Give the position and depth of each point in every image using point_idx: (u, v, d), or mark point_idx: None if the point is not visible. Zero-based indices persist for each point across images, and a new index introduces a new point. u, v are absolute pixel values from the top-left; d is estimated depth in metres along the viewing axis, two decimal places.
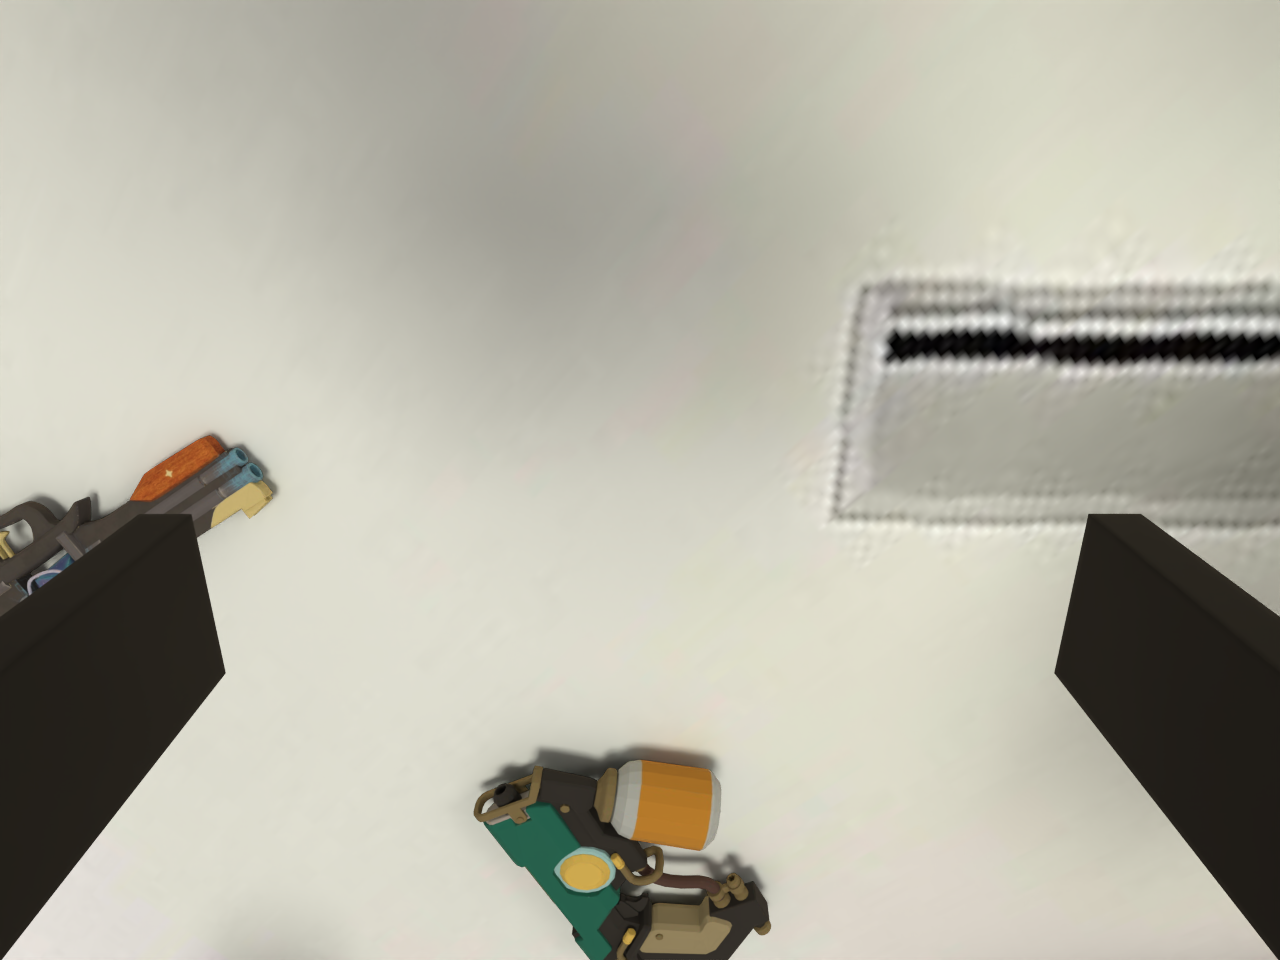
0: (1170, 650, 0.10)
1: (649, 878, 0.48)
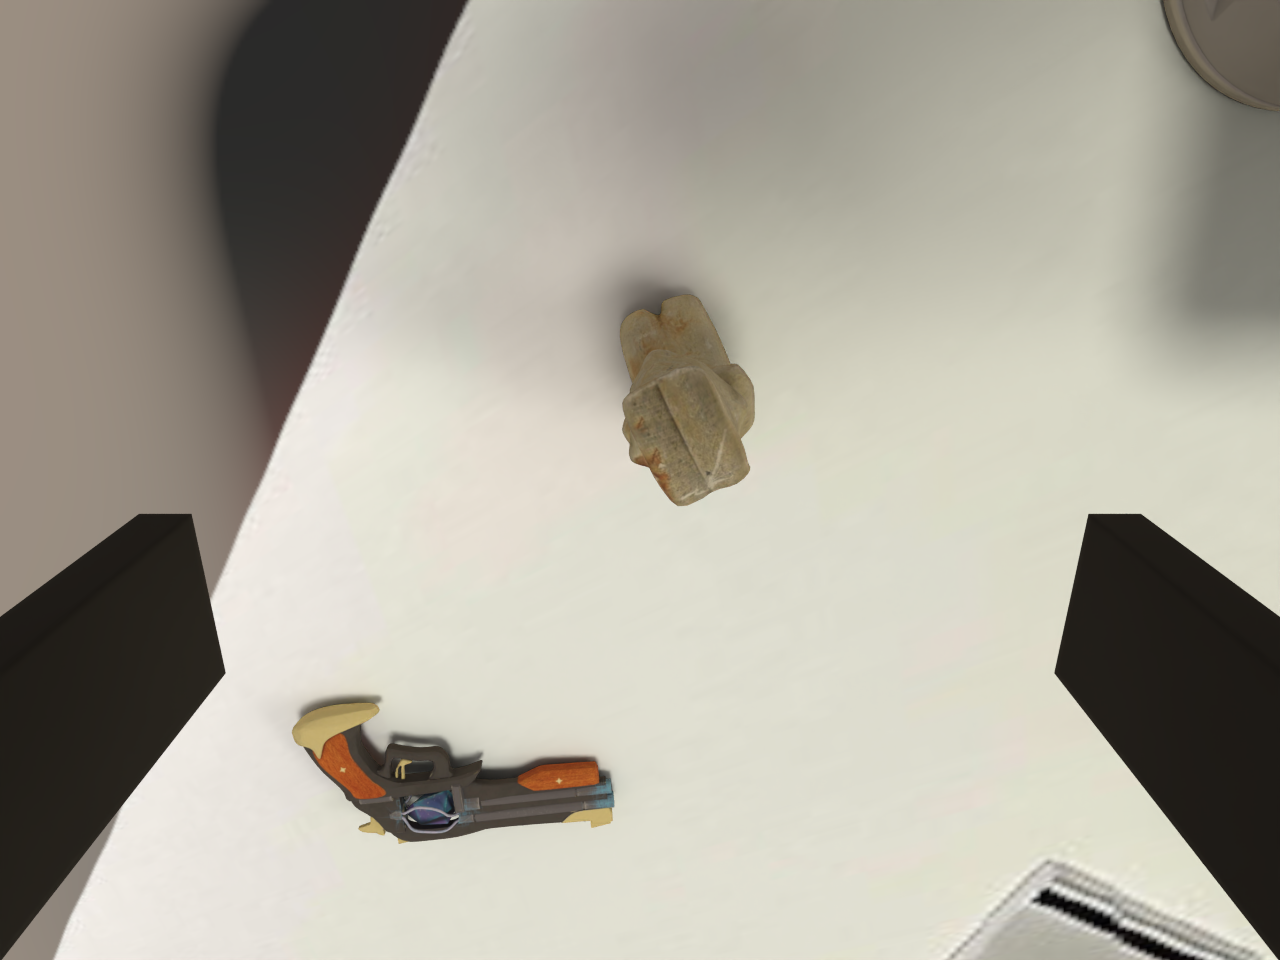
0: (1170, 650, 0.10)
1: None
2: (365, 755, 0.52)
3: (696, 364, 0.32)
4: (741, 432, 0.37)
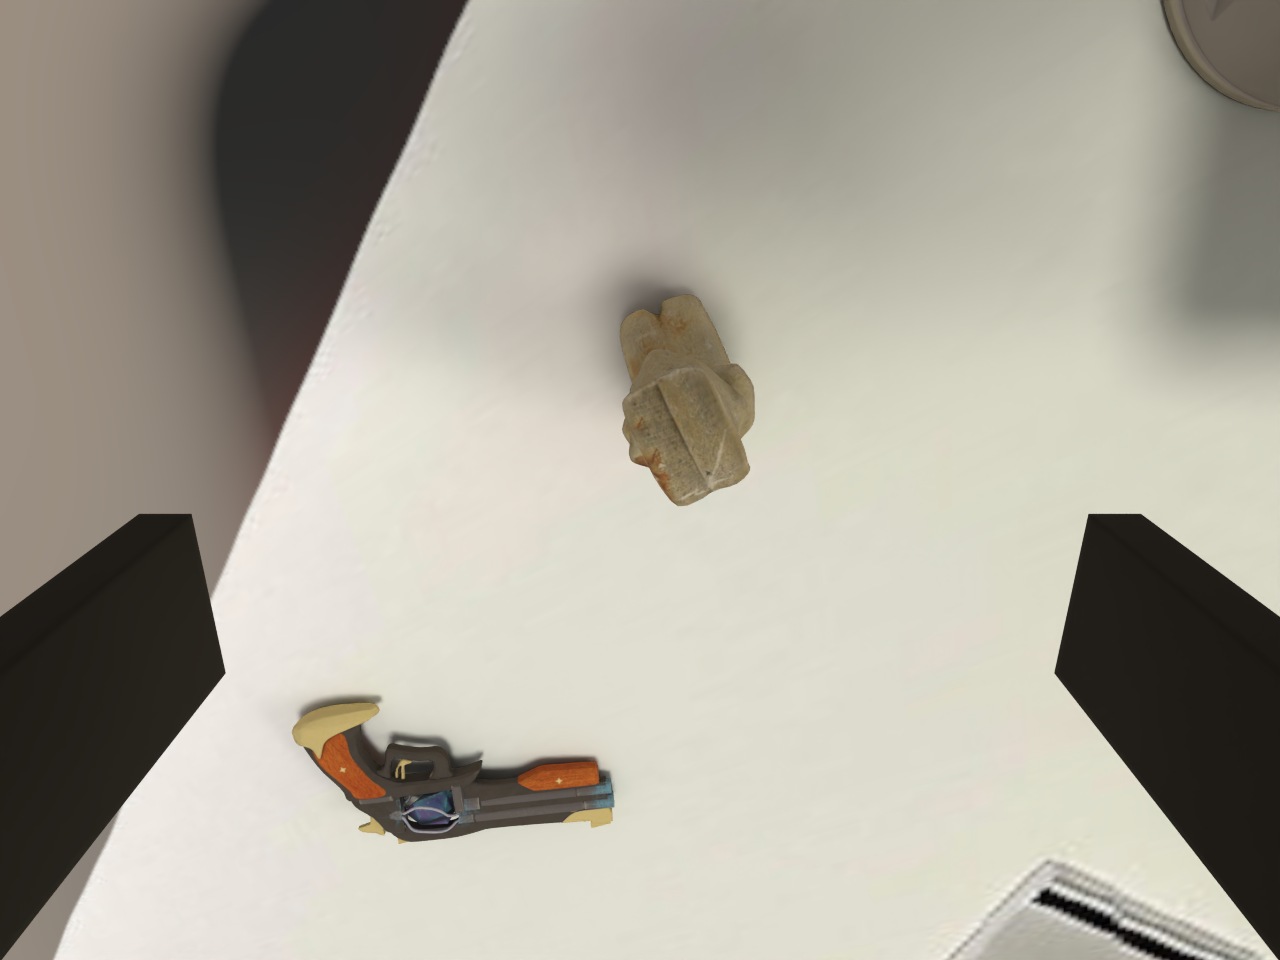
0: (1170, 650, 0.10)
1: None
2: (365, 755, 0.52)
3: (696, 364, 0.32)
4: (741, 432, 0.37)
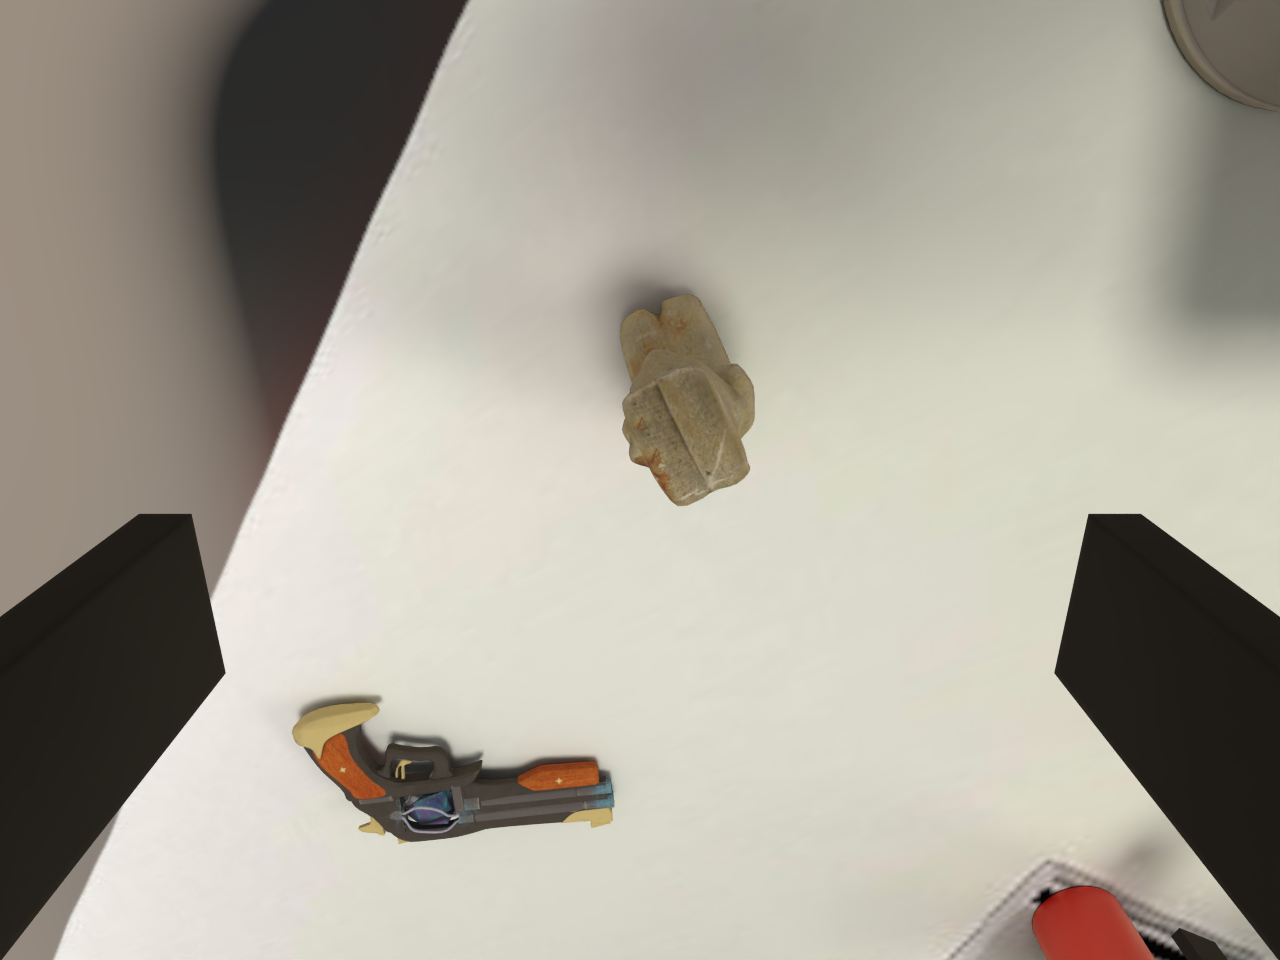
0: (1170, 650, 0.10)
1: None
2: (365, 755, 0.52)
3: (696, 364, 0.32)
4: (741, 432, 0.37)
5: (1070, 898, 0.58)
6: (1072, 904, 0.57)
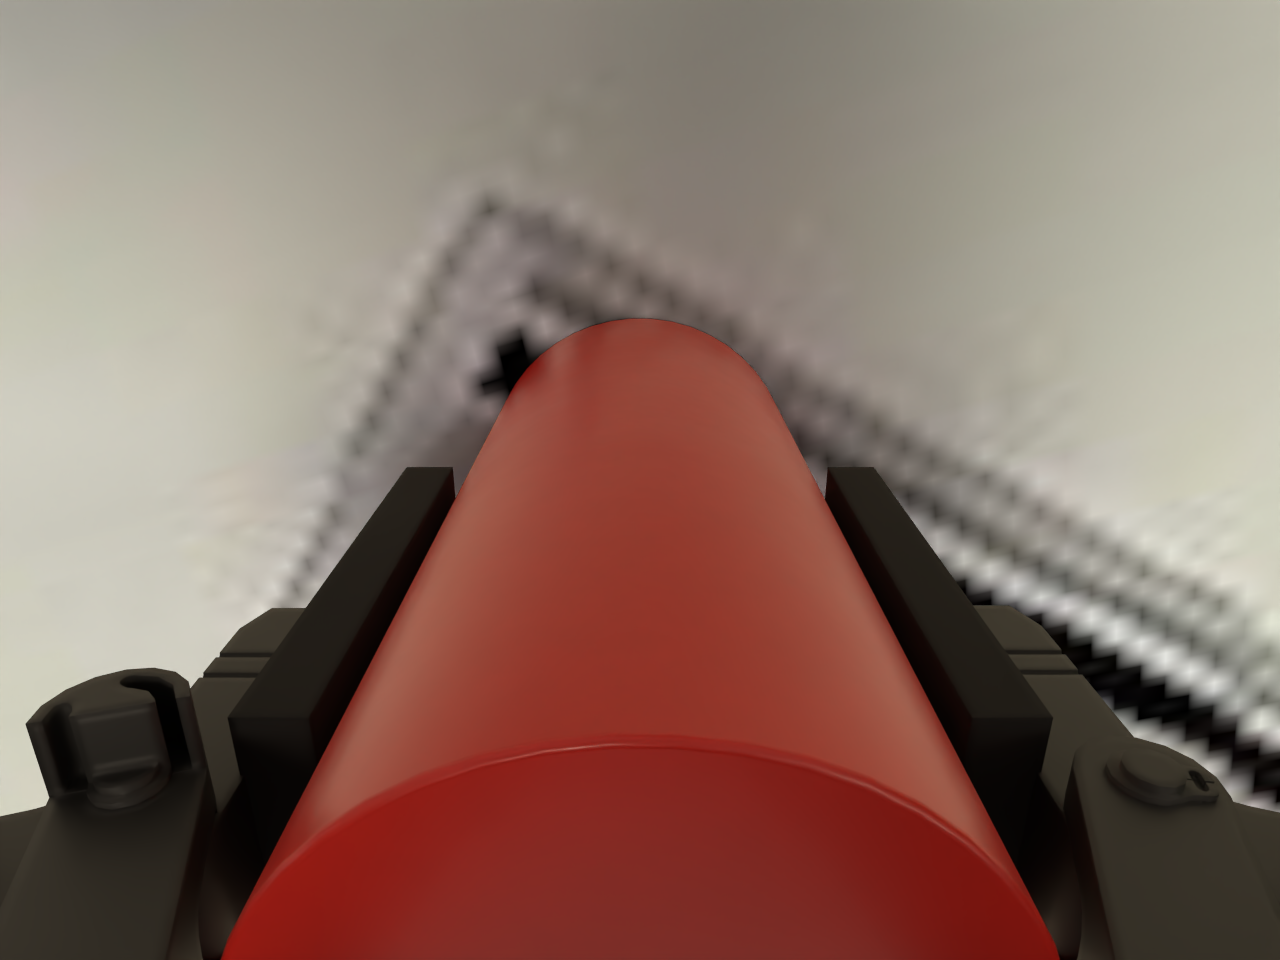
0: None
1: None
2: None
3: None
4: None
5: (572, 341, 0.16)
6: (566, 348, 0.16)
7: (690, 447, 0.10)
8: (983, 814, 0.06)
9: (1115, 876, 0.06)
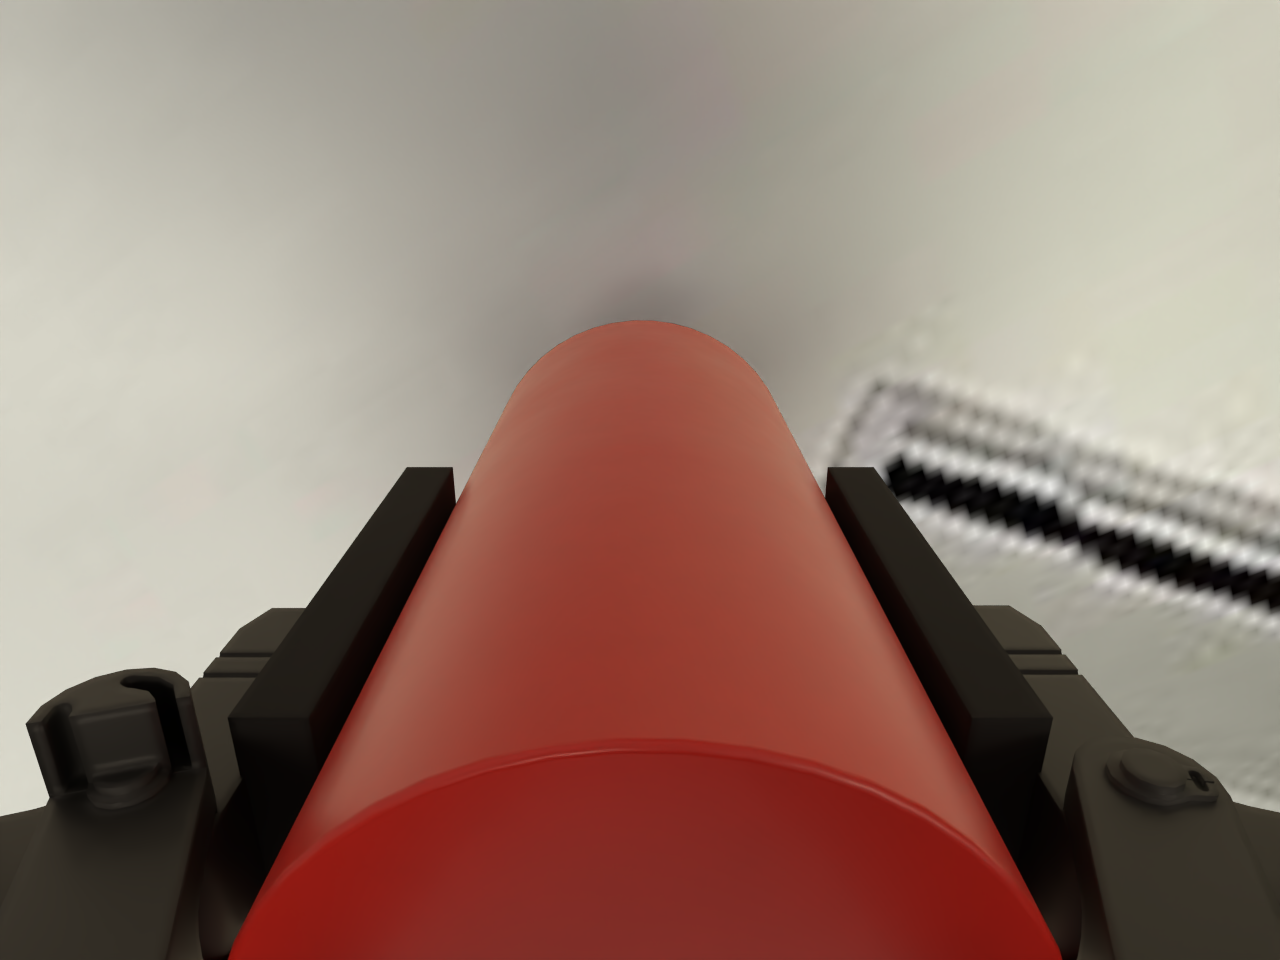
0: None
1: None
2: None
3: None
4: None
5: (573, 343, 0.16)
6: (568, 350, 0.16)
7: (694, 449, 0.10)
8: (987, 818, 0.06)
9: (1115, 877, 0.06)
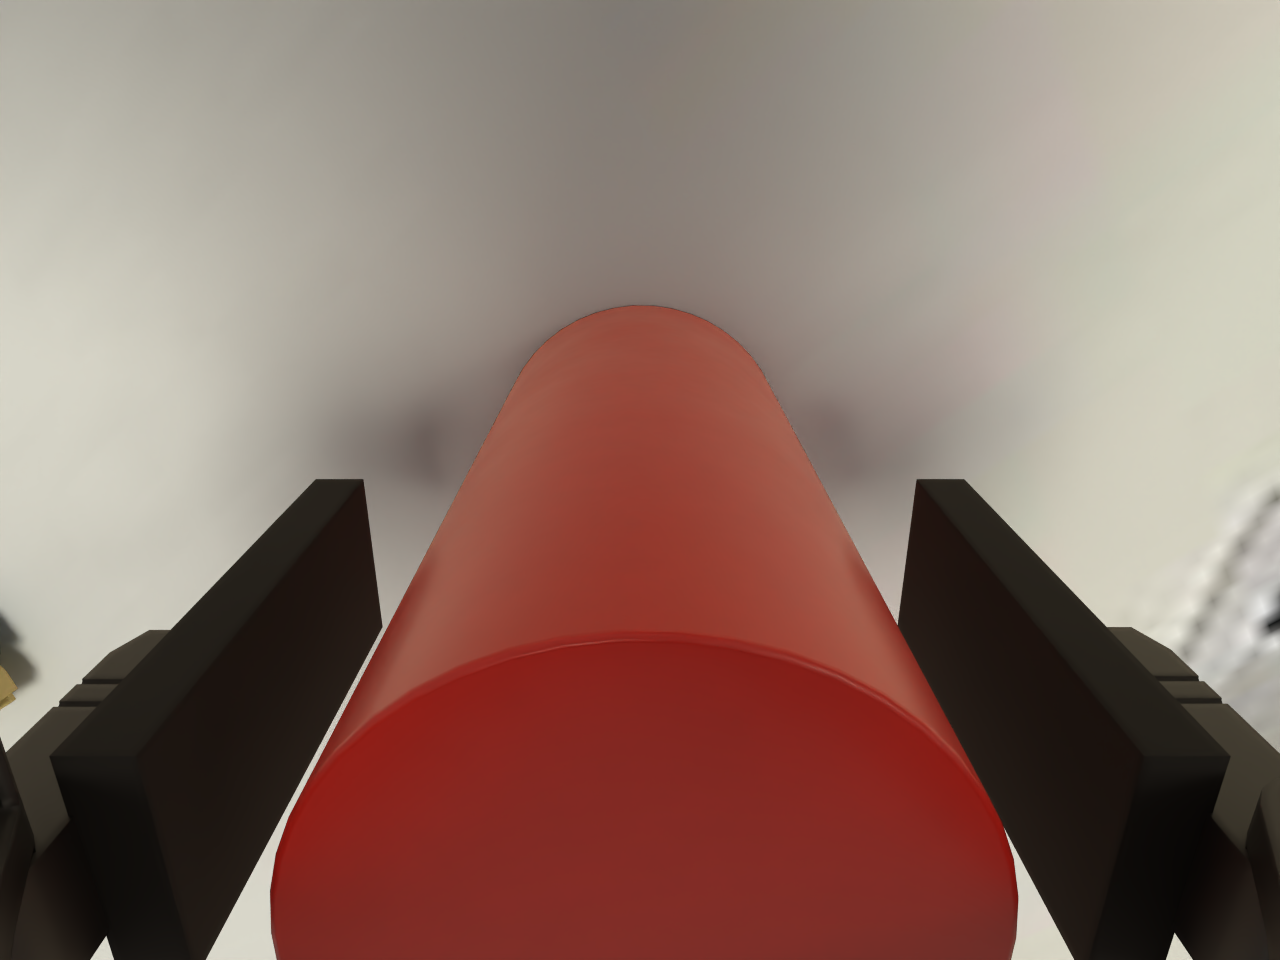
0: (961, 594, 0.11)
1: None
2: None
3: None
4: None
5: (577, 326, 0.17)
6: (572, 333, 0.17)
7: (689, 414, 0.11)
8: (943, 717, 0.07)
9: None
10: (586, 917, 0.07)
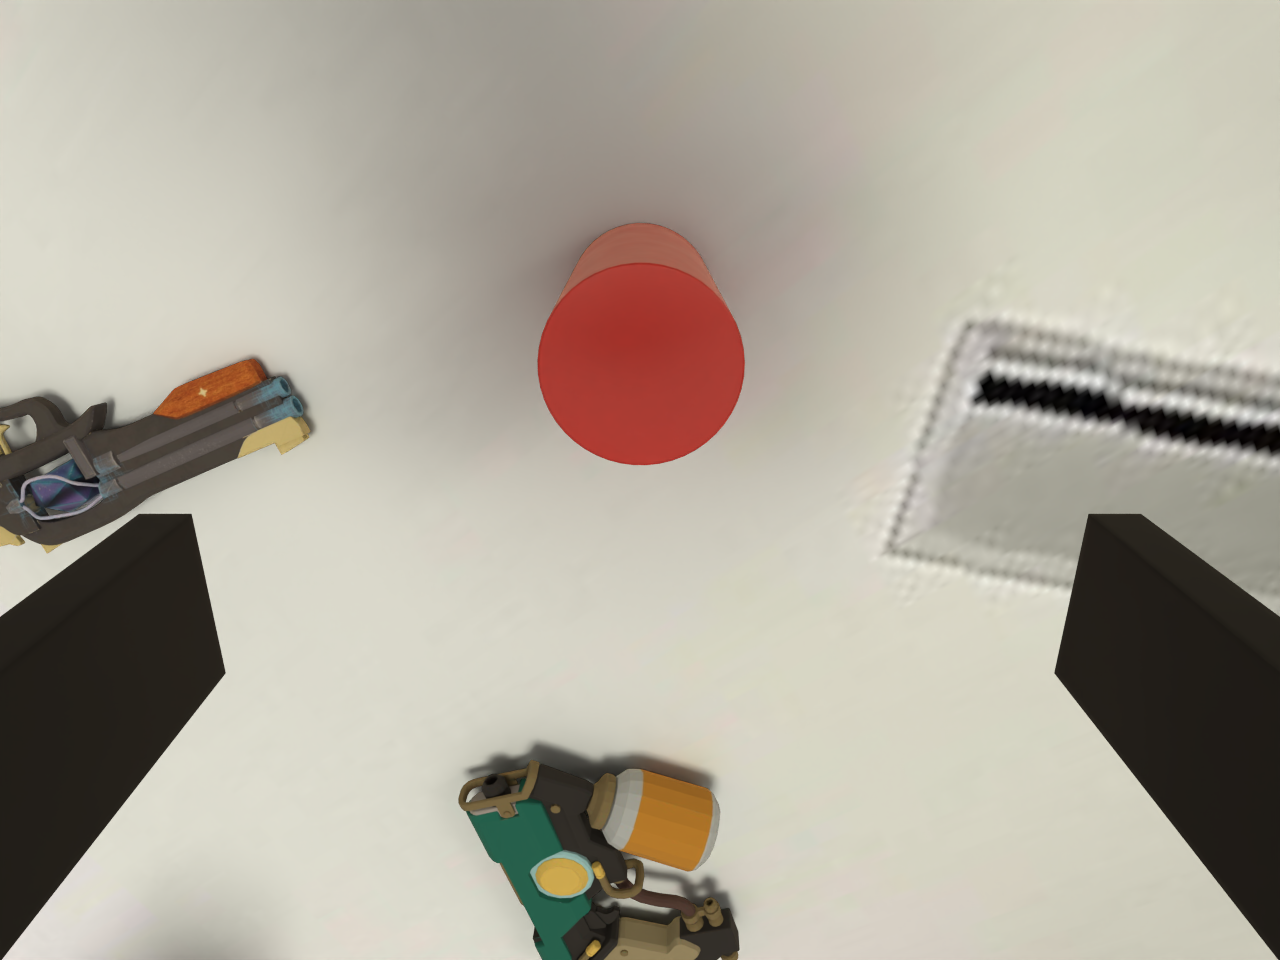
0: (1170, 650, 0.10)
1: (628, 892, 0.46)
2: None
3: None
4: None
5: (609, 232, 0.35)
6: (607, 234, 0.35)
7: (658, 243, 0.29)
8: (724, 302, 0.25)
9: None
10: (625, 354, 0.25)
